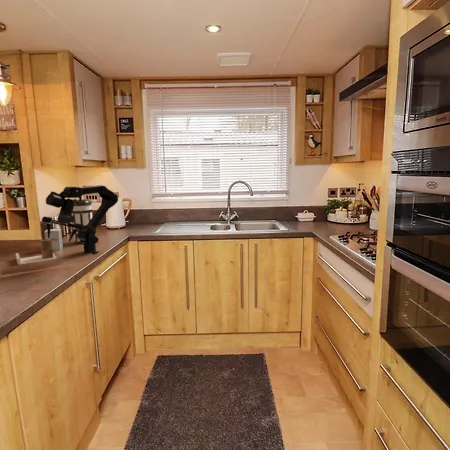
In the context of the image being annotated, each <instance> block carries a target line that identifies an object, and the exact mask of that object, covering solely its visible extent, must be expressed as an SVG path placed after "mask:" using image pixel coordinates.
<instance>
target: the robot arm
mask: <svg viewBox="0 0 450 450" xmlns="http://www.w3.org/2000/svg"><path fill="white" fill-rule="evenodd" d="M91 194H98V195H99V197H100V198H101V201H100V206H99V207H98V208H97V210H96V211H95V212H94V214H93V215H92V218H91V220H90V221H89V223H88V224H87V225H82V224H77V223H76V224H72V223H73V222H74V218H75V216H73V215H72V213H73V209H74V205H75V204H79V203H78V201H77V200H78V199H77V198H78V197H80V196H82V197H83V196H84V195H91ZM118 201H119V197H118V195H117V193H114V192H113V190H111V189H109V188H108V187H107V186H105V185H99V184H98V185H94V186H93V185H92V186H84V187H83V186H82V187H81V186H80V187H79V186H65V187H64V188H63V190H62V191H61V192H59V193H57V192H56V191H50V193H49V194H47V197H46V198H45V204H46V205H47V206H51V207H53V208H57V209H58V208H59V213H58V216H57V220H56V219H53V218H52V217H50V216H49V217H48V216H43V217H42V218H41V223H42V224H43V225H44V226H46V230H48V239H49V237H50V230H51V229H52V224H54V225H59V226H63V227H69V228H72V231H71V234H70V237H69V239H68V243H70V242H71V240H72V239H73V238H74V234H75V233H76V232H78V233H77V237H78V239H79V240H80V242H79V243H81V244H83V253H84V254H91V255H96V254H98V253H99V251H98V250H97V246H96V244H98V243H99V239H100V238H98V237H97V236H96V234H97V231H96V230H97V228H98V227H99V224H100V223H101V222H102V220H103V218H104V217H105V216H106V214H107V213H108V211H109V209H111V208H113V207H114V206H115V205H116V204H117V203H118ZM73 228H74V229H73Z"/></svg>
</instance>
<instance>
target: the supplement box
mask: <svg viewBox="0 0 450 450" xmlns="http://www.w3.org/2000/svg"><path fill="white" fill-rule="evenodd" d="M62 237H63V236H62V228H53V229H52V228H51V230H50V237H49V239H51V242H52V251H53V252H55V251H61V250H63V246H64V245H63V238H62ZM45 239H48V230H47V229H46V230H44V240H45Z"/></svg>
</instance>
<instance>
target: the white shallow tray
mask: <svg viewBox="0 0 450 450" xmlns="http://www.w3.org/2000/svg"><path fill="white" fill-rule="evenodd" d="M15 259H16V263H17V265H26V264H31V263H32V264H33V263H37V262H38V263H39V262H45V261H50V260H57V259H58V257H57V256H56V255H55V254H54V253H53V257H52V258H45V259H43V257H42V254H41V255H35V256H27V257H20V254H19V252H16V253H15Z"/></svg>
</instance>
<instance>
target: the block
mask: <svg viewBox="0 0 450 450" xmlns="http://www.w3.org/2000/svg"><path fill="white" fill-rule="evenodd" d="M39 241H40V248H41V255H42V257H43V259H45V258H52V257H53V254H54V251H52V242H51V239H45V238H44V239H40V240H39Z"/></svg>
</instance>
